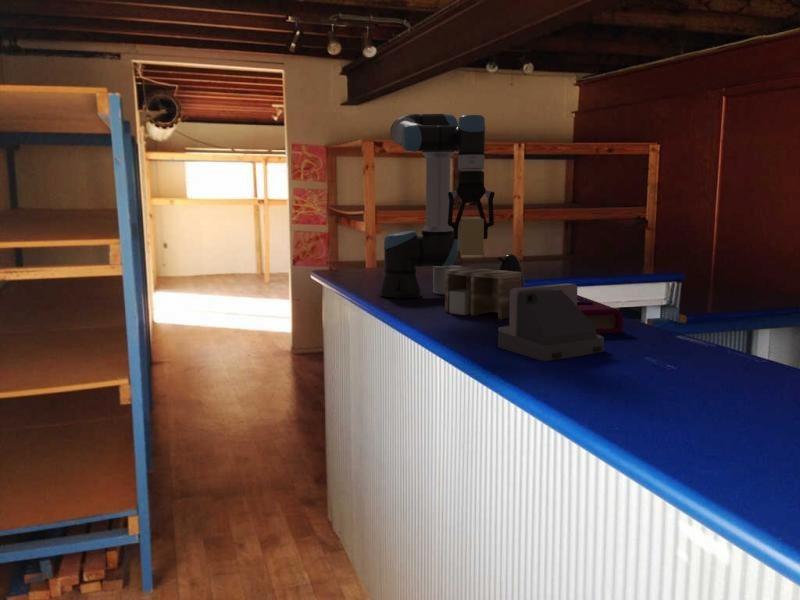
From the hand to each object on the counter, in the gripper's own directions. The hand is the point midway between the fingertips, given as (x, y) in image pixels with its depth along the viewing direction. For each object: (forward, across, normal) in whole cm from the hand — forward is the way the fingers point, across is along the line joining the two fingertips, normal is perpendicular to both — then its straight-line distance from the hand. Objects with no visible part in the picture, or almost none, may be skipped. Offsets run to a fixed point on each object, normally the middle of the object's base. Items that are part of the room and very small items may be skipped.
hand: (470, 250), depth 202 cm
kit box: (0, 0, 0) cm, 1 cm away
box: (+21, -1, +11) cm, 23 cm away
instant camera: (+20, +16, -42) cm, 49 cm away
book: (+21, +26, -11) cm, 35 cm away
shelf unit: (+20, +4, +8) cm, 22 cm away
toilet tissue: (+21, -4, +55) cm, 59 cm away
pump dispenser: (+21, +18, +46) cm, 53 cm away
